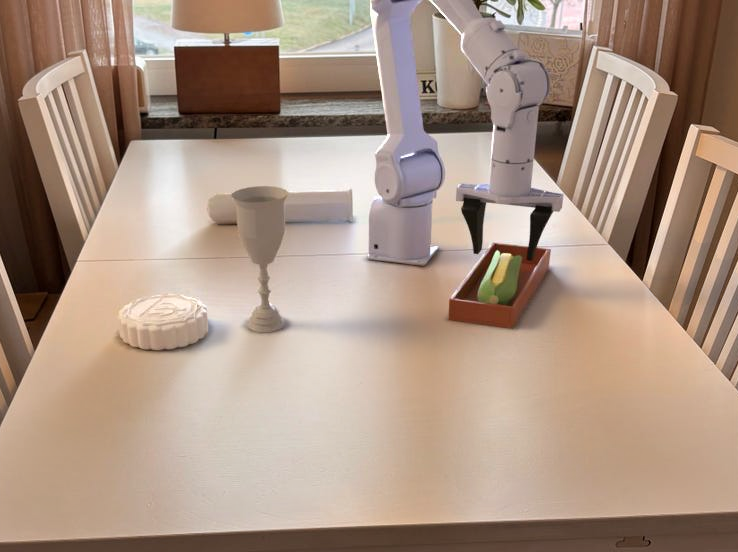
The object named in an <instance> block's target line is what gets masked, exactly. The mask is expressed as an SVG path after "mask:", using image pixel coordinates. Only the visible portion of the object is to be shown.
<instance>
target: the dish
mask: <svg viewBox="0 0 738 552" xmlns="http://www.w3.org/2000/svg"><path fill="white" fill-rule="evenodd" d="M497 250H498V251H499V252H500V255H501V254H502V253H508V254H511V255H512V256H513V257H514V256H518V255H520V256H521V257H522V261H521V266H520V270H519V276H518V282H517V289H516V293H515V295H514V297H513V299H512V301H511V304H510V306H506V305H498V304H491V303H483V302H479V301H478V290H479V287H480V285H481V283H482V281H483V279H484V277H485V275H486V273H487V270H488V268H489V266H490V264H491V261H492V259H493V257H494V254H495V252H496V251H497ZM527 251H528V246H527V245H517V244H509V243H502V242H501V243H499V242H491V244H490V245H489V246H488V248H487V249H486V250H485V252H484V253H483V255H482V256H481V257H480V258H479V260H478V261H477V262H476V264H475V265H474V266H473V268H472V269H471V270H470V272H469V273H468V274H467V275H466V277H465V279H463V280H462V283H460V285H459V286H458V288H457V289H456V290H455V292H454V293H453V294H452V295H451V297H450V298H449V303H448V318H447V319H448V320H449V321H455V322H462V323H469V324H475V325H476V324H477V325H483V326H490V327H496V328H497V327H498V328H505V329H514V327H515V326H516V324H517V322H518V321H519V318H520V317H521V315H523V312H524V310H525V309H526V307H527V306H528V304H529V302H530V300H531V299H532V297H533V296H534V294H535V292H536V291H537V289H538V287H539V285H540V284H541V283H542V280H543V278H544V277H545V275H546V274H547V272H548V270H549V269H550V261H551V251H552V249H551V248H544V247H537V248H536V252H535V256H534V258H533V260H532V261H529V260H527Z"/></svg>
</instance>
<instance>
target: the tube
mask: <svg viewBox="0 0 738 552" xmlns="http://www.w3.org/2000/svg"><path fill="white" fill-rule="evenodd" d="M287 192H288V194H287V197H286V199H285V201H284V213H285V223H311V222H349V223H353V220H354V219H353V216H354V215H353V214H354V210H353V209H354V208H353V207H354V206H353V205H354V204H353V203H354V202H353V188H352V187H349V188H347V189H332V190H331V189H329V190H328V189H327V190H293V191H289V190H288V191H287ZM232 193H233V192H225V193H224V192H223V193H222V192H221V193H214V195H212V196H211V197H210V198H209V199H208V200H207V206H206V210H207V211H206V212H207V214H208V216H209V218H210V220H211V221H212V222H213V223H214V224H217V225H235V224H237V210H236V203H235V201H234V200H233V198H232Z"/></svg>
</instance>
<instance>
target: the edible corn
mask: <svg viewBox="0 0 738 552" xmlns="http://www.w3.org/2000/svg"><path fill="white" fill-rule="evenodd" d="M521 261H522V257H521V256H520V255H518V256H514V257H513V256H512V255H511V254H508V253H502V254H501V255H500V252H499V251H498V250H497V251H496V252H495V254H494V257H493V259H492V261H491V264H490V266H489V268H488V270H487V273H486V275H485V277H484V279H483V281H482V283H481V285H480V287H479V290H478V301H479V302H483V303H491V304H498V305H506V306H510V304H511V301H512V299H513V297H514V295H515V293H516V289H517V282H518V276H519V270H520V266H521Z"/></svg>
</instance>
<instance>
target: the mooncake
mask: <svg viewBox="0 0 738 552" xmlns="http://www.w3.org/2000/svg"><path fill="white" fill-rule="evenodd" d="M117 326H118V333H119V337H120V338H121V339H122V341H123V343H124V344H128V345H130V346H131V347H132V348H140V349H141V350H147V351H148V350H152V351H162V350H167V351H168V350H169V351H170V350H171V351H172V350H174V349H176V348H185V347H187V346H188V345H192V344H196V343H197V342H198V341H199V340H202V339H203V338H205V336H206V334H207V333H208V332H209V322H208V310H207V306H206V305H205V304H203V302H202V301H201V300H197V299H196V298H194V297H191V296H185V295H183V294H180V293H177V294H171V293H163V294H156V295H152V296H141V297H140V298H138V299H136V300H131V301H130V302H129V304H125V305H123V306H122V307H121V309H120V310H119V311H118V312H117Z"/></svg>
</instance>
